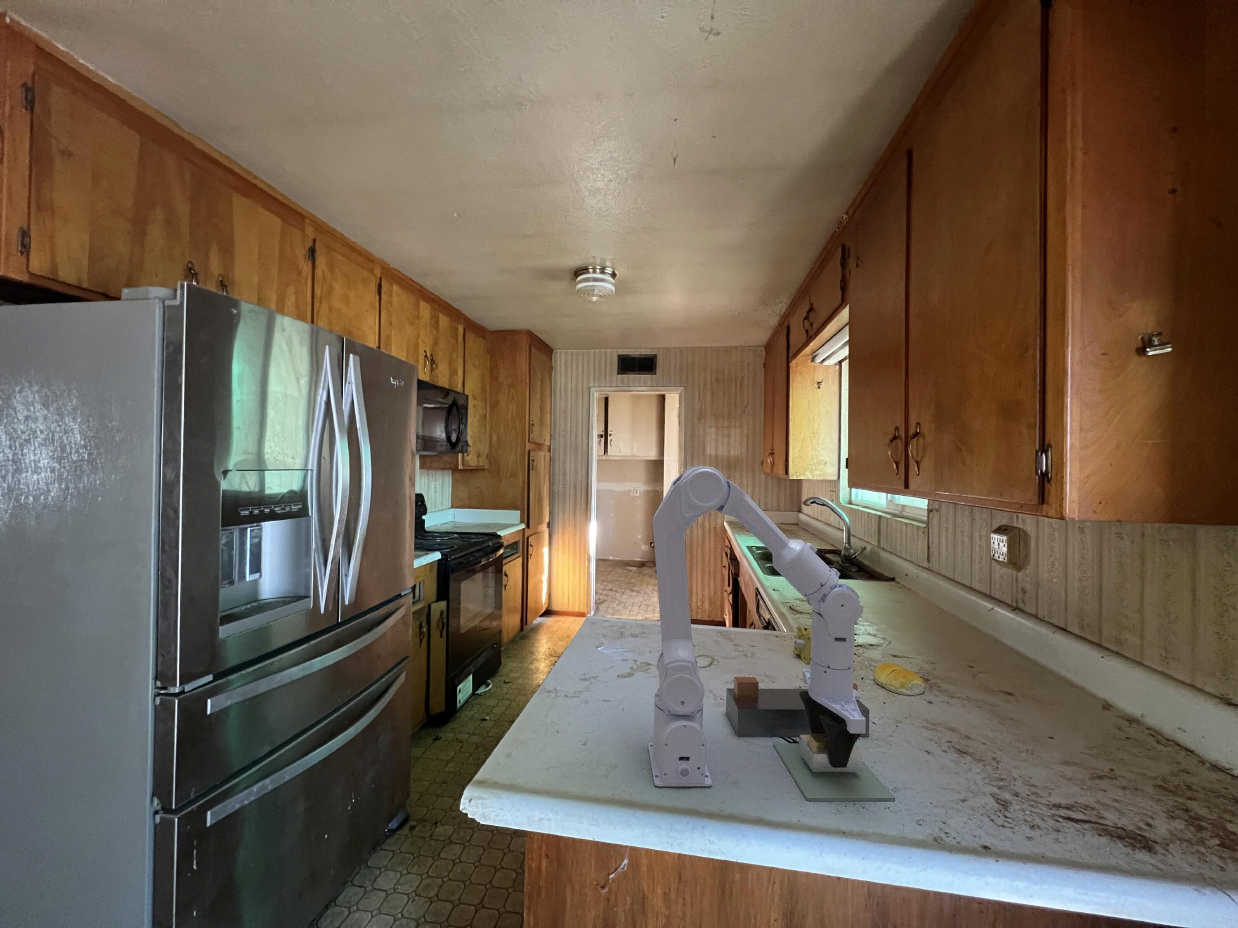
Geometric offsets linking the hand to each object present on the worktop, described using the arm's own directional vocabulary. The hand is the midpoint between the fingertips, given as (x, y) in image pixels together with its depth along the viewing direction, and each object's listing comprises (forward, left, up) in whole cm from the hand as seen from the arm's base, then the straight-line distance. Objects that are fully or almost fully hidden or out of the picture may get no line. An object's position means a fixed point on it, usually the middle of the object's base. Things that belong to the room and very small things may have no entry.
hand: (829, 754), depth 67 cm
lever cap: (0, 0, -1) cm, 1 cm away
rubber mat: (0, 0, -2) cm, 2 cm away
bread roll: (+27, -28, -3) cm, 39 cm away
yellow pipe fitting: (+39, -17, -3) cm, 43 cm away
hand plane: (+12, 0, -2) cm, 12 cm away
